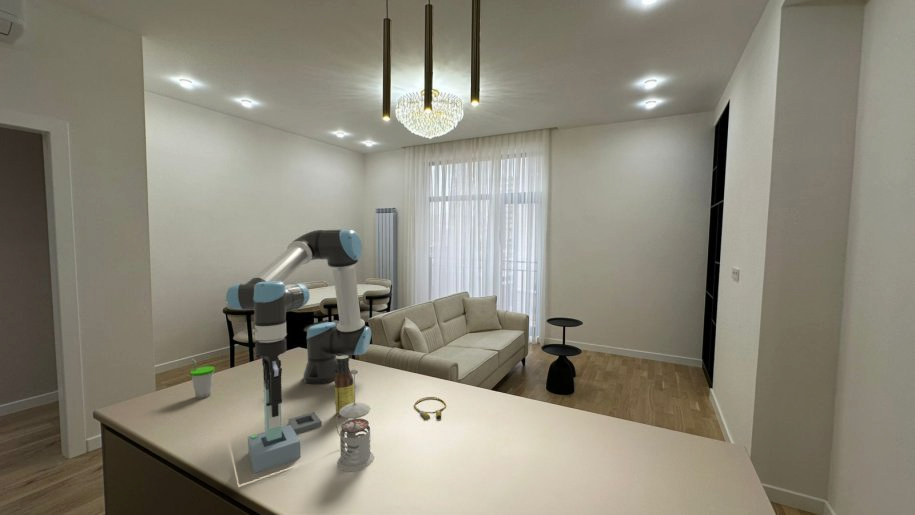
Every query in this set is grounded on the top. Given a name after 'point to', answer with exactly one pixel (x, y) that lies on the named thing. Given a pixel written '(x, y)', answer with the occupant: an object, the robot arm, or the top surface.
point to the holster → (305, 422)
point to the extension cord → (425, 415)
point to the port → (273, 449)
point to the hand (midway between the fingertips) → (273, 423)
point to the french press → (354, 436)
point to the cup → (202, 380)
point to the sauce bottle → (343, 384)
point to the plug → (273, 432)
